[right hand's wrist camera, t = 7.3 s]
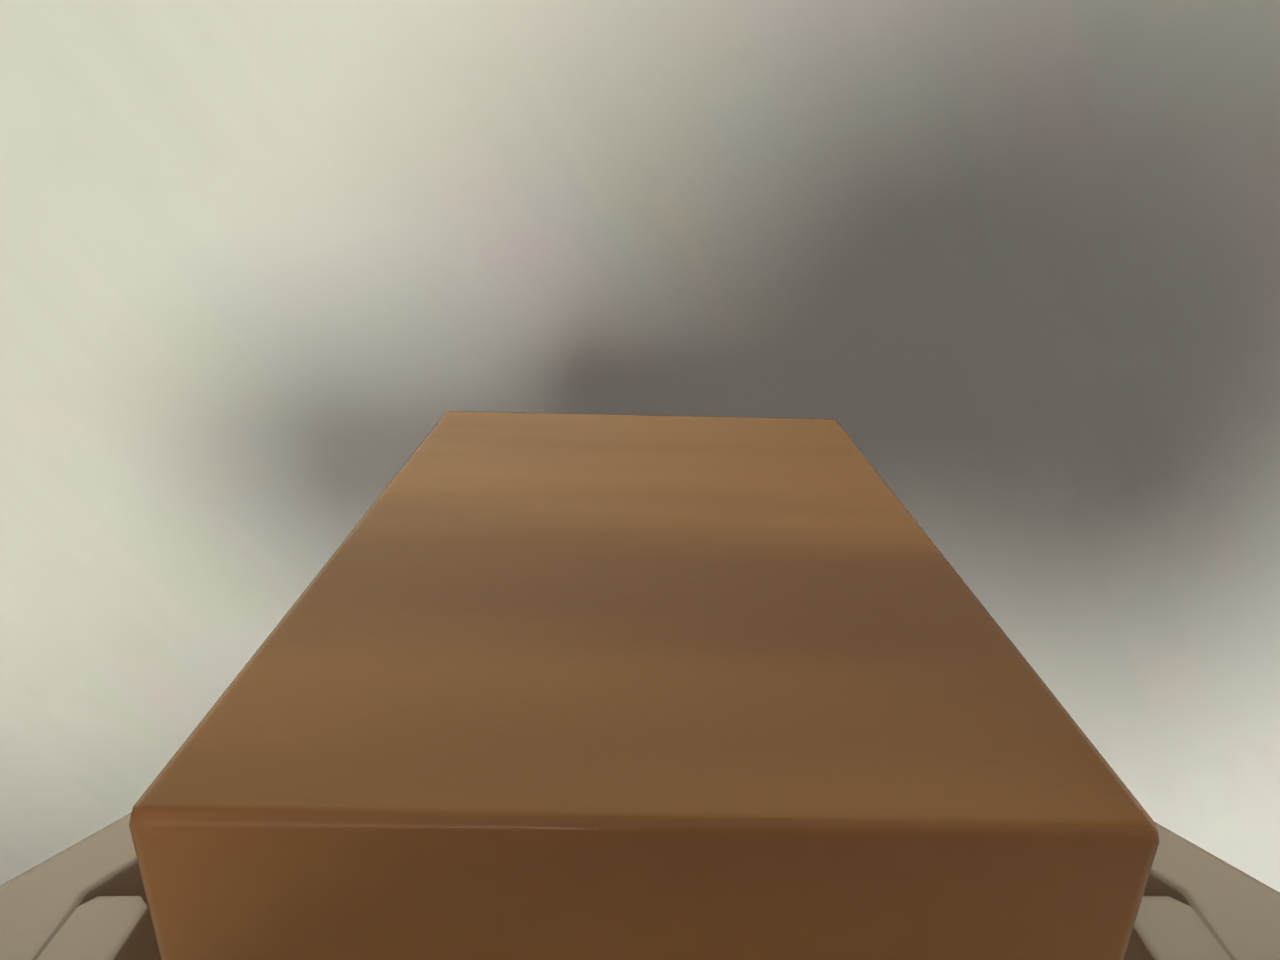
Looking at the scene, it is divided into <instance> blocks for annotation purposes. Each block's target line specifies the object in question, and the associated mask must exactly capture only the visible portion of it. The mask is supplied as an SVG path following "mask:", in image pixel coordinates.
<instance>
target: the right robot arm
mask: <svg viewBox="0 0 1280 960" xmlns="http://www.w3.org/2000/svg"><path fill="white" fill-rule="evenodd" d="M130 816H131V813H130V814H128V815H127V816H125V817H123V818H121V819H119V820H118V821H116V822H114V823H112V824H111V825H109V826H107V827H105V828H103V829H102V830H100V831H98V832H96V833H94V834H93V835H91V836H89V837H87V838H86V839H84V840H82V841H80V842H78V843H77V844H75V845H73V846H71V847H69V848H68V849H66V850H64V851H62V852H60V853H59V854H57V855H55V856H53V857H52V858H50V859H48V860H46V861H44V862H43V863H41V864H39V865H37V866H35V867H34V868H32V869H30V870H28V871H26V872H25V873H23V874H21V875H19V876H18V877H16V878H14V879H12V880H10V881H9V882H7V883H5V884H3V885H1V886H0V960H161V956H160V952H159V948H158V943H157V939H156V935H155V931H154V927H153V923H152V919H151V914H150V910H149V906H148V902H147V898H146V894H145V889H144V885H143V881H142V877H141V873H140V869H139V865H138V860H137V856H136V852H135V848H134V844H133V840H132V836H131V831H130V827H129V822H130ZM1155 824H1156V827H1157V830H1158V835H1159V845H1158V848H1157V851H1156V854H1155V858H1154V861H1153V864H1152V868H1151V871H1150V874H1149V877H1148V881H1147V884H1146V887H1145V890H1144V894H1143V897H1142V900H1141V904H1140V907H1139V910H1138V913H1137V917H1136V920H1135V923H1134V927H1133V930H1132V933H1131V936H1130V940H1129V943H1128V946H1127V949H1126V953H1125V956H1124V959H1123V960H1280V893H1279V892H1277V891H1276V890H1274V889H1272V888H1270V887H1269V886H1267V885H1265V884H1263V883H1261V882H1260V881H1258V880H1256V879H1254V878H1253V877H1251V876H1249V875H1247V874H1246V873H1244V872H1242V871H1240V870H1239V869H1237V868H1235V867H1233V866H1231V865H1230V864H1228V863H1226V862H1224V861H1223V860H1221V859H1219V858H1217V857H1216V856H1214V855H1212V854H1210V853H1209V852H1207V851H1205V850H1203V849H1201V848H1200V847H1198V846H1196V845H1194V844H1193V843H1191V842H1189V841H1187V840H1186V839H1184V838H1182V837H1180V836H1178V835H1177V834H1175V833H1173V832H1171V831H1170V830H1168V829H1166V828H1164V827H1163V826H1161V825H1159V824H1157V823H1156V822H1155Z"/></svg>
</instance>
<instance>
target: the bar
mask: <svg viewBox="0 0 1280 960" xmlns="http://www.w3.org/2000/svg"><path fill="white" fill-rule="evenodd" d="M129 827H130V831H131V836H132V840H133V844H134V848H135V852H136V856H137V860H138V865H139V869H140V873H141V877H142V881H143V885H144V889H145V894H146V898H147V902H148V906H149V910H150V914H151V919H152V923H153V927H154V931H155V935H156V939H157V943H158V948H159V952H160V956H161V960H1123V959H1124V956H1125V953H1126V949H1127V946H1128V943H1129V940H1130V936H1131V933H1132V930H1133V927H1134V923H1135V920H1136V917H1137V913H1138V910H1139V907H1140V904H1141V900H1142V897H1143V894H1144V890H1145V887H1146V884H1147V881H1148V877H1149V874H1150V871H1151V868H1152V864H1153V861H1154V858H1155V854H1156V851H1157V848H1158V845H1159V835H1158V830H1157V827H1156V824H1155V822H1154V821H1153V820H1152V819H1151V817H1150V816H1149V815H1148V813H1147V812H1146V811H1145V810H1144V808H1143V807H1142V806H1141V805H1140V803H1139V802H1138V801H1137V800H1136V798H1135V797H1134V796H1133V795H1132V793H1131V792H1130V791H1129V789H1128V788H1127V787H1126V786H1125V784H1124V783H1123V782H1122V781H1121V779H1120V778H1119V777H1118V776H1117V774H1116V773H1115V772H1114V771H1113V769H1112V768H1111V767H1110V766H1109V764H1108V763H1107V762H1106V760H1105V759H1104V758H1103V757H1102V755H1101V754H1100V753H1099V752H1098V750H1097V749H1096V748H1095V747H1094V745H1093V744H1092V743H1091V742H1090V740H1089V739H1088V738H1087V736H1086V735H1085V734H1084V733H1083V731H1082V730H1081V729H1080V728H1079V726H1078V725H1077V724H1076V723H1075V721H1074V720H1073V719H1072V718H1071V716H1070V715H1069V714H1068V712H1067V711H1066V710H1065V709H1064V707H1063V706H1062V705H1061V704H1060V702H1059V701H1058V700H1057V699H1056V697H1055V696H1054V695H1053V694H1052V692H1051V691H1050V690H1049V689H1048V687H1047V686H1046V685H1045V683H1044V682H1043V681H1042V680H1041V678H1040V677H1039V676H1038V675H1037V673H1036V672H1035V671H1034V670H1033V668H1032V667H1031V666H1030V665H1029V663H1028V662H1027V661H1026V659H1025V658H1024V657H1023V656H1022V654H1021V653H1020V652H1019V651H1018V649H1017V648H1016V647H1015V646H1014V644H1013V643H1012V642H1011V641H1010V639H1009V638H1008V637H1007V635H1006V634H1005V633H1004V632H1003V630H1002V629H1001V628H1000V627H999V625H998V624H997V623H996V622H995V620H994V619H993V618H992V617H991V615H990V614H989V613H988V612H987V610H986V609H985V608H984V606H983V605H982V604H981V603H980V601H979V600H978V599H977V598H976V596H975V595H974V594H973V593H972V591H971V590H970V589H969V588H968V586H967V585H966V584H965V582H964V581H963V580H962V579H961V577H960V576H959V575H958V574H957V572H956V571H955V570H954V569H953V567H952V566H951V565H950V564H949V562H948V561H947V560H946V558H945V557H944V556H943V555H942V553H941V552H940V551H939V550H938V548H937V547H936V546H935V545H934V543H933V542H932V541H931V540H930V538H929V537H928V536H927V535H926V533H925V532H924V531H923V529H922V528H921V527H920V526H919V524H918V523H917V522H916V521H915V519H914V518H913V517H912V516H911V514H910V513H909V512H908V511H907V509H906V508H905V507H904V505H903V504H902V503H901V502H900V500H899V499H898V498H897V497H896V495H895V494H894V493H893V492H892V490H891V489H890V488H889V487H888V485H887V484H886V483H885V481H884V480H883V479H882V478H881V476H880V475H879V474H878V473H877V471H876V470H875V469H874V468H873V466H872V465H871V464H870V463H869V461H868V460H867V459H866V458H865V456H864V455H863V454H862V452H861V451H860V450H859V449H858V447H857V446H856V445H855V444H854V442H853V441H852V440H851V439H850V437H849V436H848V435H847V434H846V432H845V431H844V430H843V428H842V427H841V426H840V425H839V423H838V422H837V421H835V420H833V419H798V418H751V417H704V416H656V415H609V414H562V413H515V412H467V411H449V412H447V413H445V414H444V416H443V417H442V418H441V419H440V421H439V422H438V423H437V424H436V426H435V427H434V428H433V429H432V431H431V432H430V433H429V435H428V436H427V437H426V438H425V440H424V441H423V442H422V443H421V445H420V446H419V447H418V448H417V450H416V451H415V452H414V453H413V455H412V456H411V457H410V459H409V460H408V461H407V462H406V464H405V465H404V466H403V467H402V469H401V470H400V471H399V472H398V474H397V475H396V476H395V477H394V479H393V480H392V481H391V482H390V484H389V485H388V486H387V488H386V489H385V490H384V491H383V493H382V494H381V495H380V496H379V498H378V499H377V500H376V501H375V503H374V504H373V505H372V506H371V508H370V509H369V510H368V511H367V513H366V514H365V515H364V517H363V518H362V519H361V520H360V522H359V523H358V524H357V525H356V527H355V528H354V529H353V530H352V532H351V533H350V534H349V535H348V537H347V538H346V539H345V540H344V542H343V543H342V544H341V546H340V547H339V548H338V549H337V551H336V552H335V553H334V554H333V556H332V557H331V558H330V559H329V561H328V562H327V563H326V564H325V566H324V567H323V568H322V570H321V571H320V572H319V573H318V575H317V576H316V577H315V578H314V580H313V581H312V582H311V583H310V585H309V586H308V587H307V588H306V590H305V591H304V592H303V593H302V595H301V596H300V597H299V599H298V600H297V601H296V602H295V604H294V605H293V606H292V607H291V609H290V610H289V611H288V612H287V614H286V615H285V616H284V617H283V619H282V620H281V621H280V622H279V624H278V625H277V626H276V628H275V629H274V630H273V631H272V633H271V634H270V635H269V636H268V638H267V639H266V640H265V641H264V643H263V644H262V645H261V646H260V648H259V649H258V650H257V651H256V653H255V654H254V655H253V657H252V658H251V659H250V660H249V662H248V663H247V664H246V665H245V667H244V668H243V669H242V670H241V672H240V673H239V674H238V675H237V677H236V678H235V679H234V681H233V682H232V683H231V684H230V686H229V687H228V688H227V689H226V691H225V692H224V693H223V694H222V696H221V697H220V698H219V699H218V701H217V702H216V703H215V704H214V706H213V707H212V708H211V710H210V711H209V712H208V713H207V715H206V716H205V717H204V718H203V720H202V721H201V722H200V723H199V725H198V726H197V727H196V728H195V730H194V731H193V732H192V733H191V735H190V736H189V737H188V739H187V740H186V741H185V742H184V744H183V745H182V746H181V747H180V749H179V750H178V751H177V752H176V754H175V755H174V756H173V757H172V759H171V760H170V761H169V762H168V764H167V765H166V766H165V768H164V769H163V770H162V771H161V773H160V774H159V775H158V776H157V778H156V779H155V780H154V781H153V783H152V784H151V785H150V786H149V788H148V789H147V790H146V792H145V793H144V794H143V795H142V797H141V798H140V799H139V800H138V802H137V803H136V804H135V805H134V807H133V810H132V813H131V816H130V822H129Z"/></svg>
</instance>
